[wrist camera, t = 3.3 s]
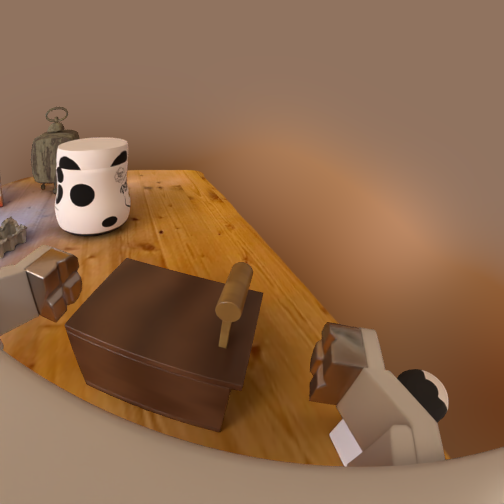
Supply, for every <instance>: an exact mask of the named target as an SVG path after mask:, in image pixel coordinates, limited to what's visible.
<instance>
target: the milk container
mask: <svg viewBox="0 0 504 504" xmlns="http://www.w3.org/2000/svg"><path fill="white" fill-rule="evenodd" d="M127 143H128V142H127V141H126V140H122V139H118V138H86V139H78V140H73V141H68V142H65V143H62V144H60V145H59V146H58V149H57V158H56V163H57V166H56V174H57V194H56V200H55V214H56V218H57V221H58V224H59V225H60V227H61V228H62V229H63V230H64V231H66V232H68V233H71V234H73V235H80V236H95V235H101V234H105V233H109V232H111V231H113V230H115V229H117V228H119V227H120V226H122V225H123V224H124V223H125V222H126V220H127V218H128V216H129V211H130V194H129V190H128V186H127V164H128V161H127V158H128V144H127Z"/></svg>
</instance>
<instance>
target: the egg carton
mask: <svg viewBox="0 0 504 504" xmlns="http://www.w3.org/2000/svg"><path fill="white" fill-rule="evenodd" d="M26 228H27V227H26V226H22V224H21V225H20V226H19V225H18V223H17V221H16V220H14V219H12V218H11V217H10V218H7V219H6V220H4V222H3V223H2V225H1V227H0V259H1V258H2V257H4V256H3V254H4V253H5V252H6V251H12V250H14V249H15V245H16V244H18V243H24V242H25V241H26V231H25V229H26Z"/></svg>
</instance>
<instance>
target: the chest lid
mask: <svg viewBox="0 0 504 504" xmlns="http://www.w3.org/2000/svg"><path fill="white" fill-rule="evenodd" d="M252 276H253V270H252V268H251V266H250V265H248V264H247V263H244V262H238V263H236V264H234V265H233V267H232V269H231V271H230V274H229V276H228V279H227V281H226V283H225V284H224V283H220V282H216V281H212V280H208V279H204V278H200V277H196V276H192V275H188V274H184V273H180V272H177V271H173V270H169V269H165V268H161V267H158V266H154V265H150V264H147V263H143V262H139V261H136V260H132V259H129V258H126V259H125V260H124V261H123V262H122V263H121V264H120V265H119V266H118V267H117V268H116V269H115V270H114V271H113V272H112V273H111V274H110V275H109V277H108V278H107V279H106V280H105V281H104V282H103V283H102V284H101V285H100V286H99V287H98V288H97V289H96V290H95V291H94V292H93V293H92V295H91V296H90V297H89V298H88V299H87V300H86V301H85V302H84V303H83V304H82V305H81V307H80V308H79V309H78V310H77V311H76V312H75V313H74V314H73V316H72V317H71V318H70V319H69V320H68V321H67V322H66V324H65V328H66V330H67V331H69V332H71V333H73V334H75V335H77V336H79V337H82V338H84V339H86V340H88V341H91V342H93V343H95V344H97V345H100V346H102V347H105V348H107V349H109V350H112V351H114V352H117V353H119V354H122V355H125V356H127V357H130V358H132V359H135V360H138V361H141V362H143V363H146V364H149V365H152V366H155V367H158V368H161V369H164V370H167V371H170V372H173V373H176V374H179V375H183V376H186V377H189V378H193V379H196V380H200V381H203V382H207V383H211V384H214V385H218V386H222V387H226V388H230V389H234V390H239V391H241V390H242V387H243V383H244V379H245V375H246V370H247V366H248V361H249V357H250V352H251V348H252V343H253V339H254V334H255V329H256V325H257V320H258V315H259V311H260V306H261V301H262V297H263V293H261V292H257V291H253V290H249V286H250V283H251V279H252Z"/></svg>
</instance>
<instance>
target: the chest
mask: <svg viewBox="0 0 504 504" xmlns="http://www.w3.org/2000/svg"><path fill="white" fill-rule="evenodd" d="M67 334H68V337H69V340H70V343H71V346H72V348H73V351H74V354H75V356H76V359H77V362H78V364H79V367H80V369H81V372H82V374H83V377H84V379H85V381H86V384H87V385H89V386H92V387H94V388H96V389H98V390H100V391H102V392H104V393H107V394H109V395H111V396H113V397H116V398H118V399H120V400H123V401H125V402H128V403H130V404H133V405H135V406H138V407H140V408H143V409H146V410H148V411H151V412H154V413H157V414H160V415H163V416H166V417H169V418H172V419H175V420H178V421H181V422H184V423H188V424H191V425H194V426H198V427H201V428H205V429H209V430H213V431H217V432H220V430H221V426H222V423H223V419H224V415H225V411H226V408H227V404H228V400H229V396H230V392H231V389H230V388H226V387H222V386H218V385H214V384H211V383H207V382H203V381H200V380H196V379H193V378H189V377H186V376H183V375H179V374H176V373H173V372H170V371H167V370H164V369H161V368H158V367H155V366H152V365H149V364H146V363H143V362H141V361H138V360H135V359H132V358H130V357H127V356H125V355H122V354H119V353H117V352H114V351H112V350H109V349H107V348H105V347H102V346H100V345H97V344H95V343H93V342H91V341H88V340H86V339H84V338H82V337H79V336H77V335H75V334H73V333H71V332H69V331H67Z"/></svg>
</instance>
